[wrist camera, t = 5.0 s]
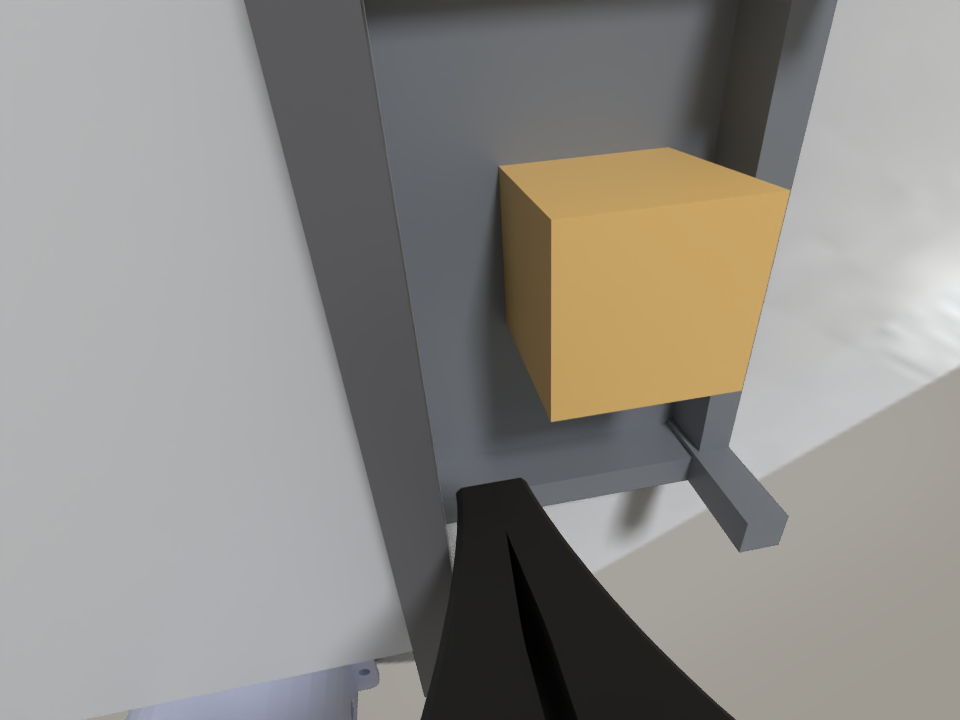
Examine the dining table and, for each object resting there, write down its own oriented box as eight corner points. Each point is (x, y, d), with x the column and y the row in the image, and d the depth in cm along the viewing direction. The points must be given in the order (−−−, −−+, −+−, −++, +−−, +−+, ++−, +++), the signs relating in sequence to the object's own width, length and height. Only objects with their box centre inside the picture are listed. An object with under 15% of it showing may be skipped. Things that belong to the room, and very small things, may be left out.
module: (650, 303, 15) (741, 390, 12) (506, 324, 15) (551, 421, 11) (668, 147, 13) (790, 190, 9) (498, 166, 13) (551, 220, 9)
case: (682, 425, 19) (778, 544, 15) (390, 475, 18) (394, 621, 14) (787, -163, 11) (1089, -318, 6) (252, -137, 10) (137, -300, 5)
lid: (461, 618, 14) (474, 709, 12) (11, 709, 12) (-53, 825, 11) (313, -321, 5) (273, -532, 3) (-1149, -303, 4) (-2504, -609, 2)
